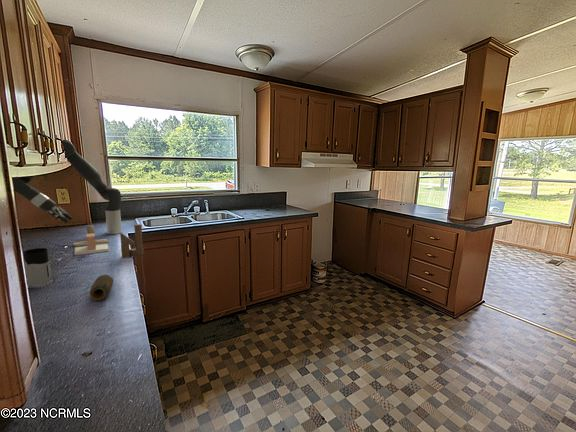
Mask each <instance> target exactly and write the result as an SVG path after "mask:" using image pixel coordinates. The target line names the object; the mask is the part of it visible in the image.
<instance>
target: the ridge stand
mask: <svg viewBox="0 0 576 432" xmlns="http://www.w3.org/2000/svg"><path fill="white" fill-rule="evenodd" d="M95 240H96V234H95V232H94V233H91V234H88V233H86V241H87V245H83V246H74V247H75V248H74V256H78V255H79V256H80V255H87V254H94V253H95V254H96V253H103V252H109V245H108V244H109V243H102V244H96V242H95Z"/></svg>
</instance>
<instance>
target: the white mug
mask: <svg viewBox="0 0 576 432" xmlns="http://www.w3.org/2000/svg"><path fill="white" fill-rule="evenodd" d="M59 253H60V254H61V253H62V254H63V255H64V262H63V264H62V266H61V267H60V268H59V269H58V270H56V271H55V273H53V274H52V270H51V264H50V263H53V262H54V261H55V255H56V254H59ZM22 254H23V263H25V266H24V271H25V270H26V273H25V276H26V275H27V280H26V283H27V282H28V288H29V286H30V285H31V286H42V285H46V284H49V283H51V282H52V281H53V277H54V276H55V275H56V274H57V273H58V272H59V271H61V270H62V269H64V267H65V266H66V262H67V255H66V253H65V252H63V251H56V252H54V254H53V255H52V260H51V261H50V260H49V252H48V248H45V247H38V248H31V249H26V250H24V251H23V253H22ZM53 282H54V281H53ZM28 288H27V289H28Z"/></svg>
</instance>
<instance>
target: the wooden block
mask: <svg viewBox="0 0 576 432" xmlns="http://www.w3.org/2000/svg"><path fill="white" fill-rule="evenodd" d="M142 226H143V225H142V224H141V223H135V224H134V240H135V241H134V240H133V239H131V238H130V237H128V236H127V235H126V234H125V233H123V232H120V233H119V234H120V235H119V236H120V247H121V249H120V251H121V252H120V253H121V257H122V258H123V259H125V258H130V257H137V256H138V257H139V256H144V255H145V251H144V246H143V227H142ZM131 245H135V248H130V246H131Z"/></svg>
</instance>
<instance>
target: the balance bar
mask: <svg viewBox="0 0 576 432" xmlns="http://www.w3.org/2000/svg"><path fill="white" fill-rule="evenodd" d="M86 231H87V233H86V234H91V233H95V227H94V225H87V226H86ZM109 241H110V240H109V239H108V238H107V239H106V238H104V239H95V242H96V245H101V244H109V243H110V242H109ZM83 246H87V240H84V241H74V242H73V247H83Z"/></svg>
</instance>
